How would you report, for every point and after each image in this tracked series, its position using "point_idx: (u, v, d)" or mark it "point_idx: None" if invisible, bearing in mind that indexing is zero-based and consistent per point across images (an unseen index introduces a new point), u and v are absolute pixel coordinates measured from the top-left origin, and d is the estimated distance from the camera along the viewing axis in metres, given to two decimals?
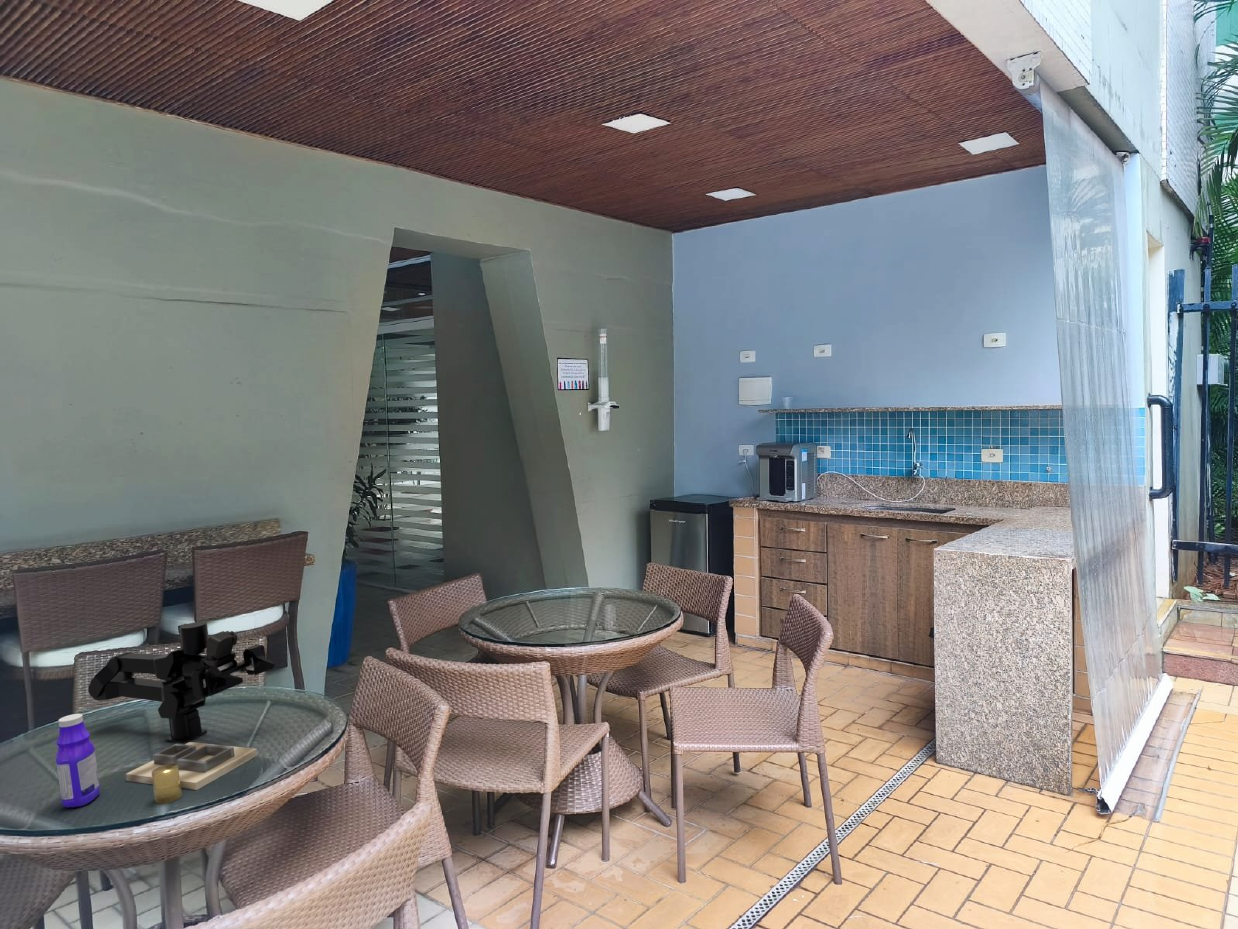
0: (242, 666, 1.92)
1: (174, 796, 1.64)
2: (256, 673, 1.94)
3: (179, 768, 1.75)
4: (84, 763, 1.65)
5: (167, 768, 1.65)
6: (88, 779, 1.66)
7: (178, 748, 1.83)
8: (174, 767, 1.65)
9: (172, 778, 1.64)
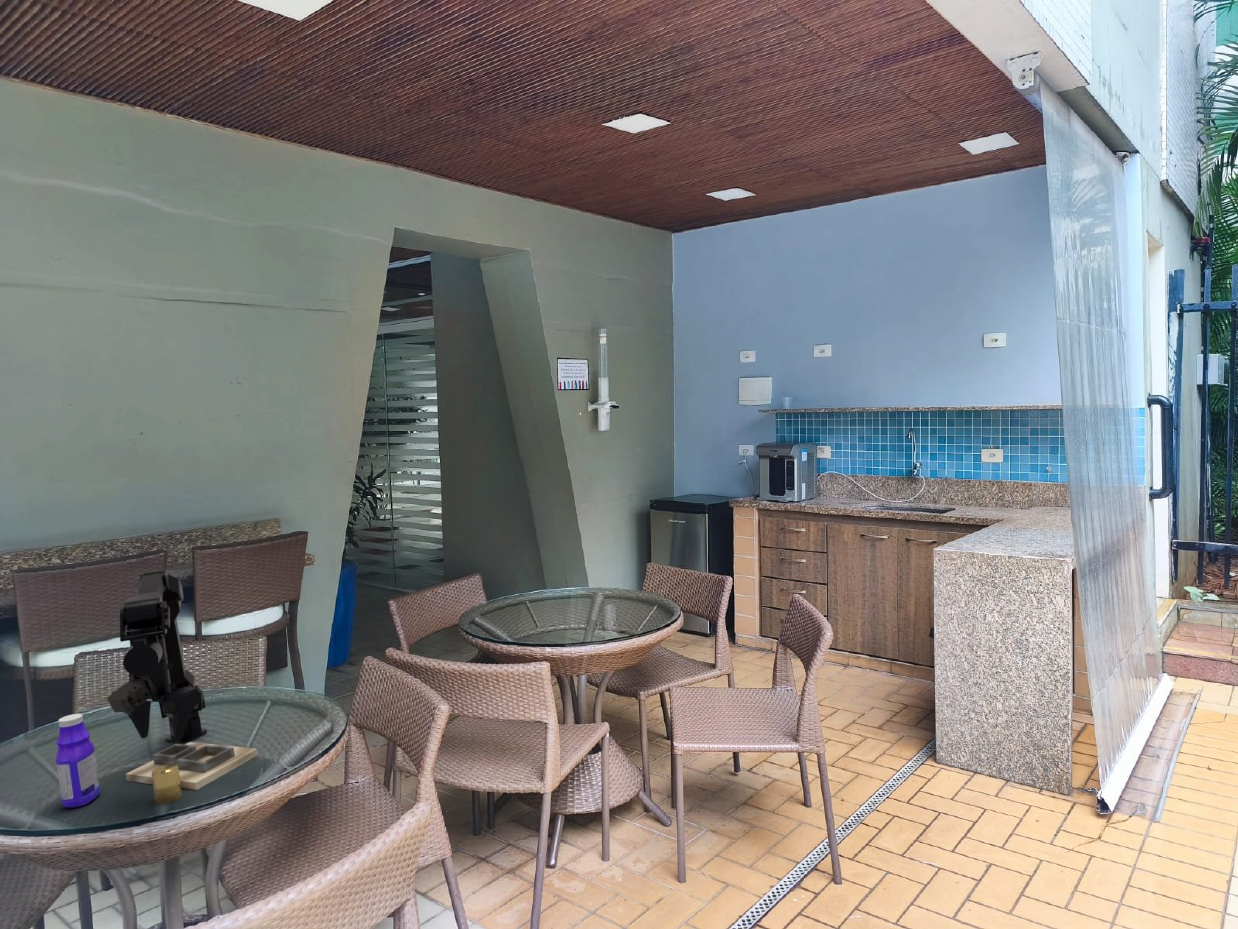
0: None
1: (174, 796, 1.64)
2: None
3: (179, 768, 1.75)
4: (84, 763, 1.65)
5: (167, 768, 1.65)
6: (88, 779, 1.66)
7: (178, 748, 1.83)
8: (174, 767, 1.65)
9: (172, 778, 1.64)
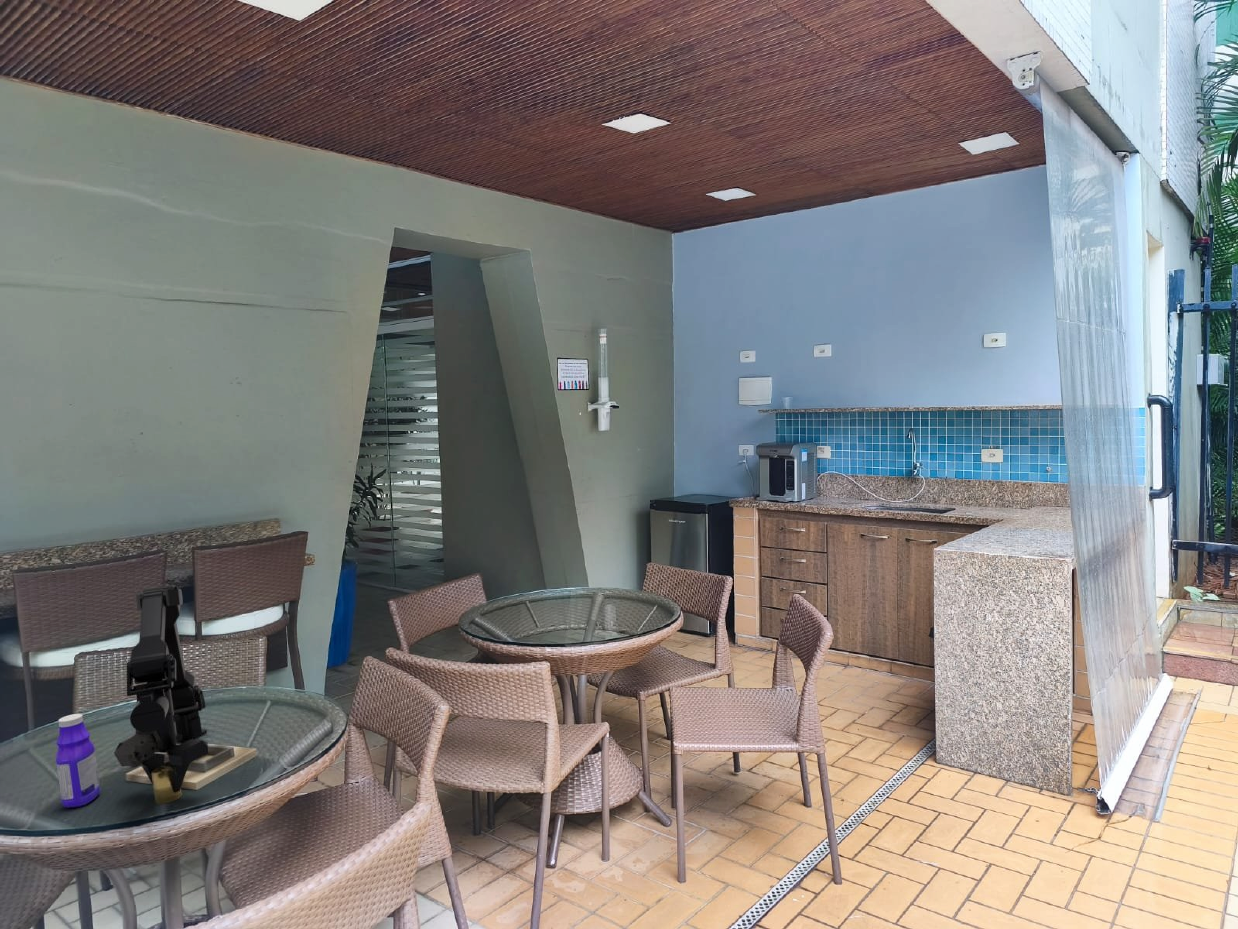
0: None
1: (174, 796, 1.64)
2: None
3: None
4: (84, 763, 1.65)
5: None
6: (88, 779, 1.66)
7: None
8: None
9: None
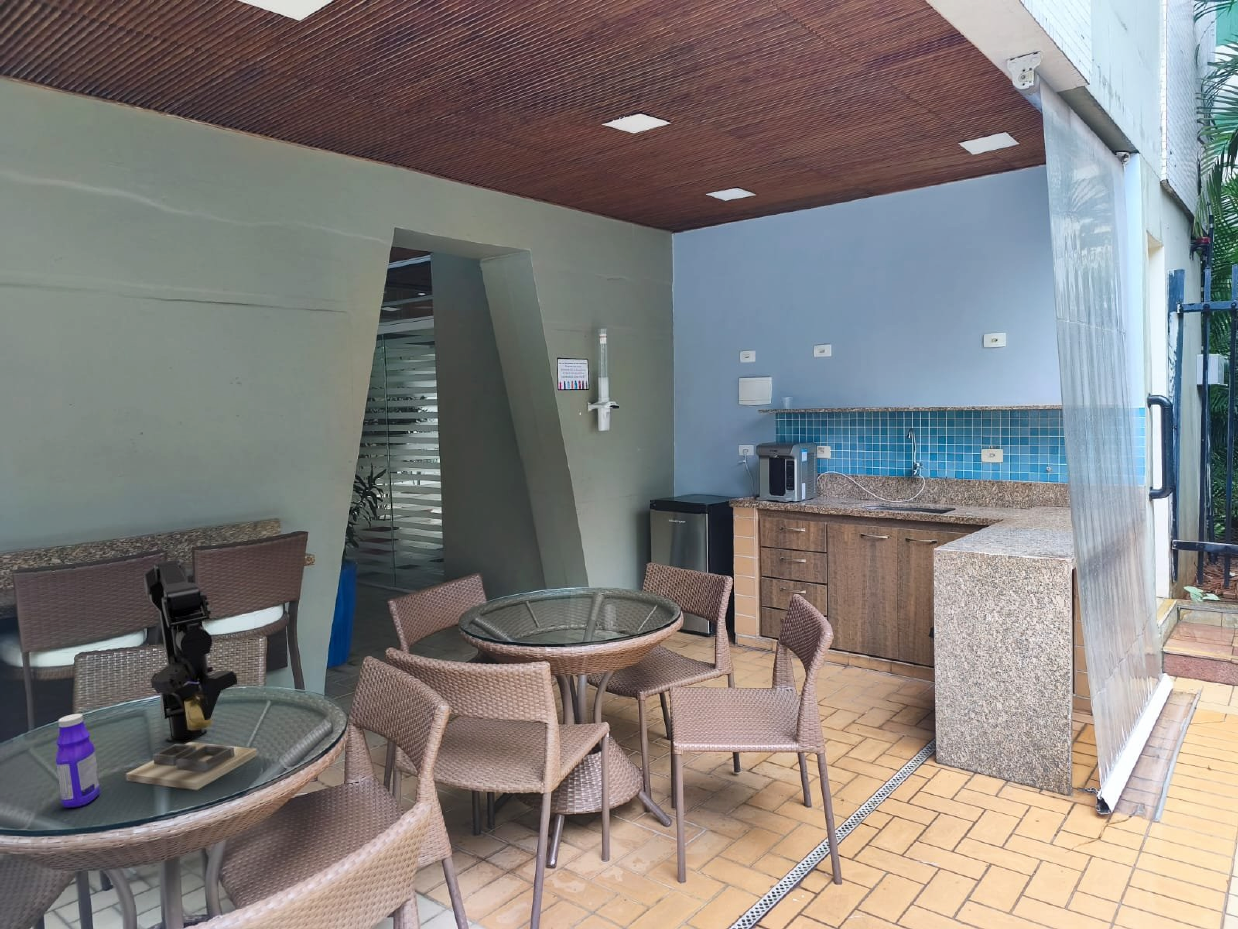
0: None
1: (205, 723, 1.75)
2: None
3: (179, 768, 1.75)
4: (84, 763, 1.65)
5: (198, 698, 1.76)
6: (88, 779, 1.66)
7: (178, 748, 1.83)
8: None
9: None
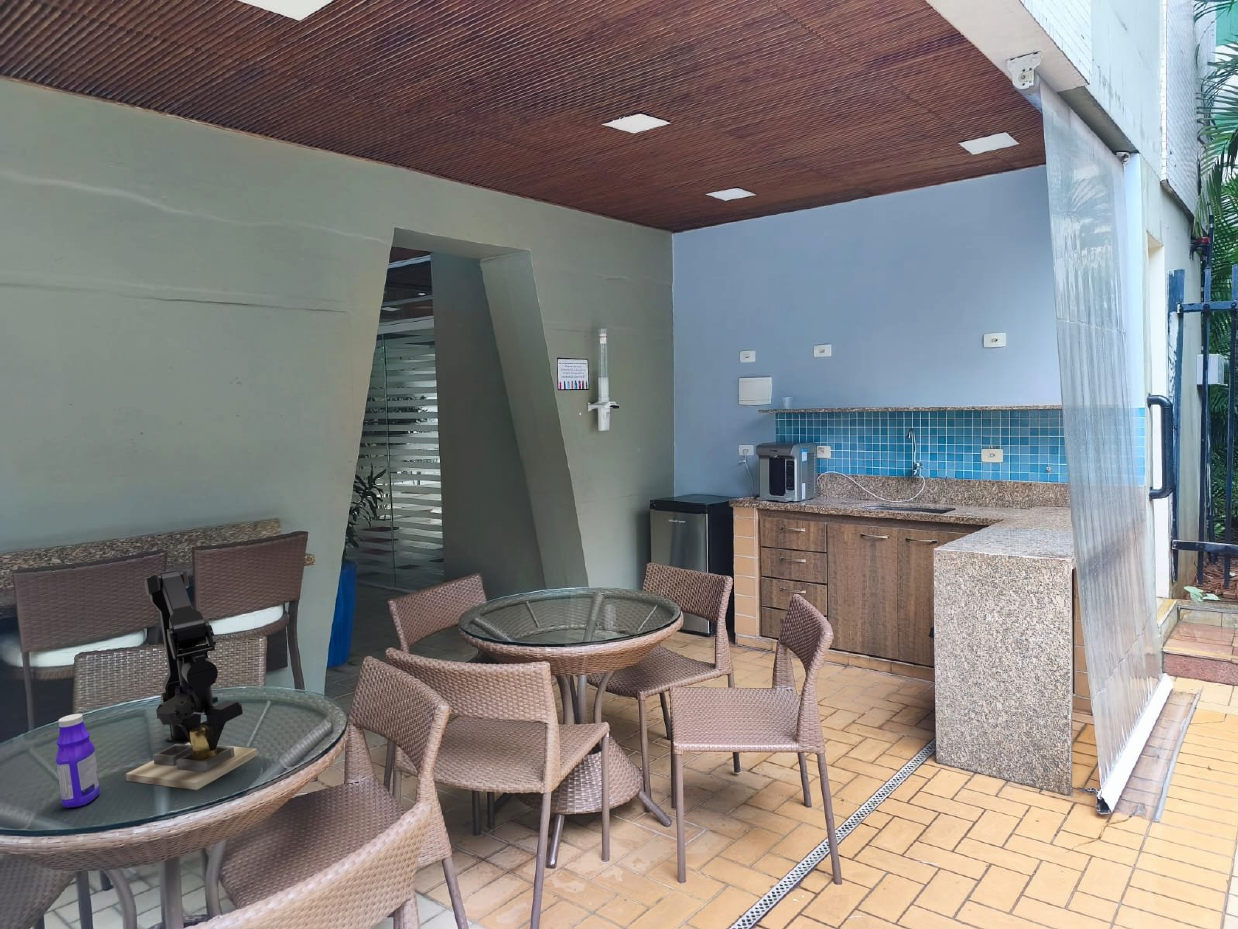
0: None
1: (210, 754, 1.76)
2: None
3: (179, 768, 1.75)
4: (84, 763, 1.65)
5: (204, 728, 1.77)
6: (88, 779, 1.66)
7: (178, 748, 1.83)
8: None
9: None
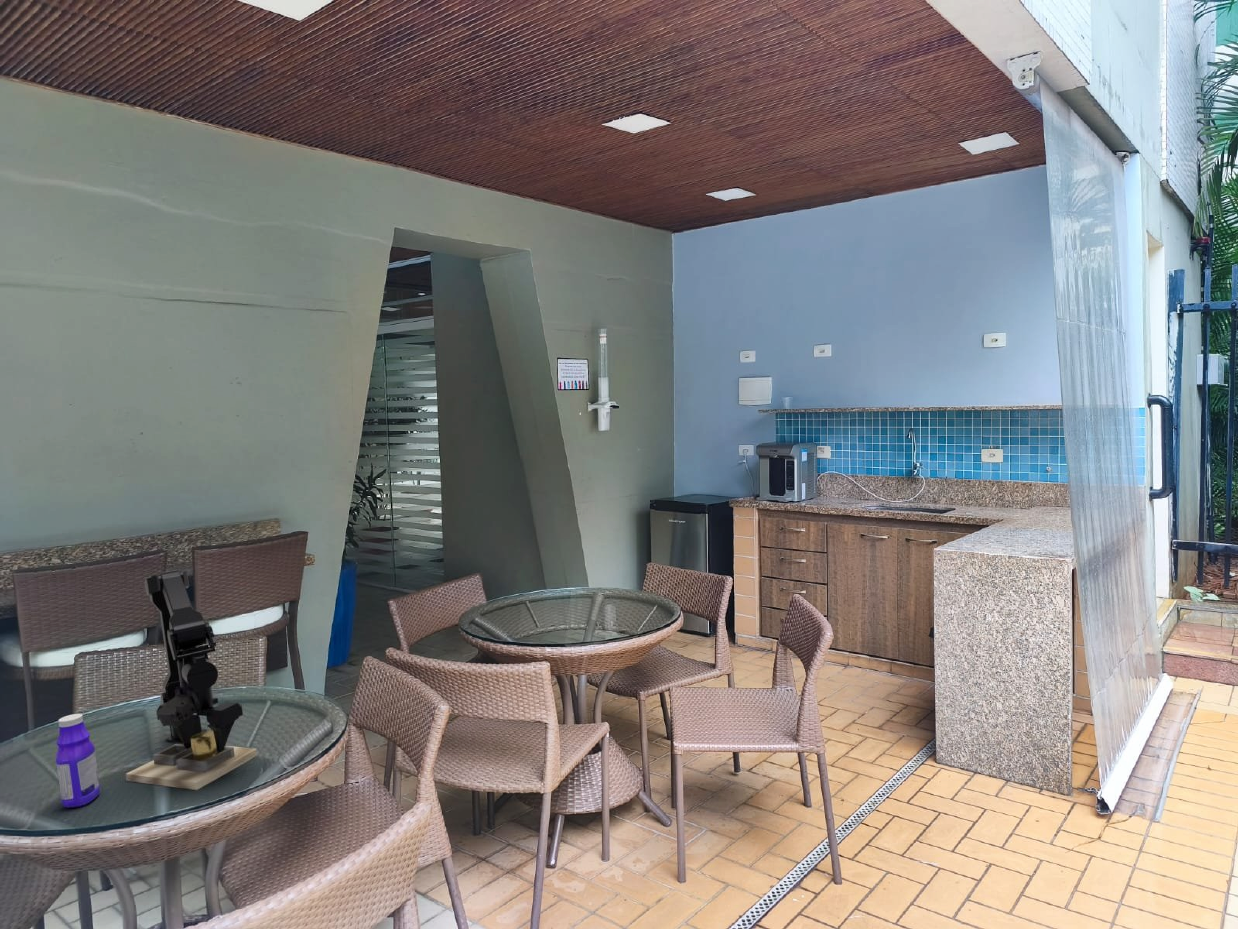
0: None
1: None
2: None
3: (179, 768, 1.75)
4: (84, 763, 1.65)
5: (204, 735, 1.77)
6: (88, 779, 1.66)
7: (178, 748, 1.83)
8: (211, 733, 1.77)
9: (210, 743, 1.76)
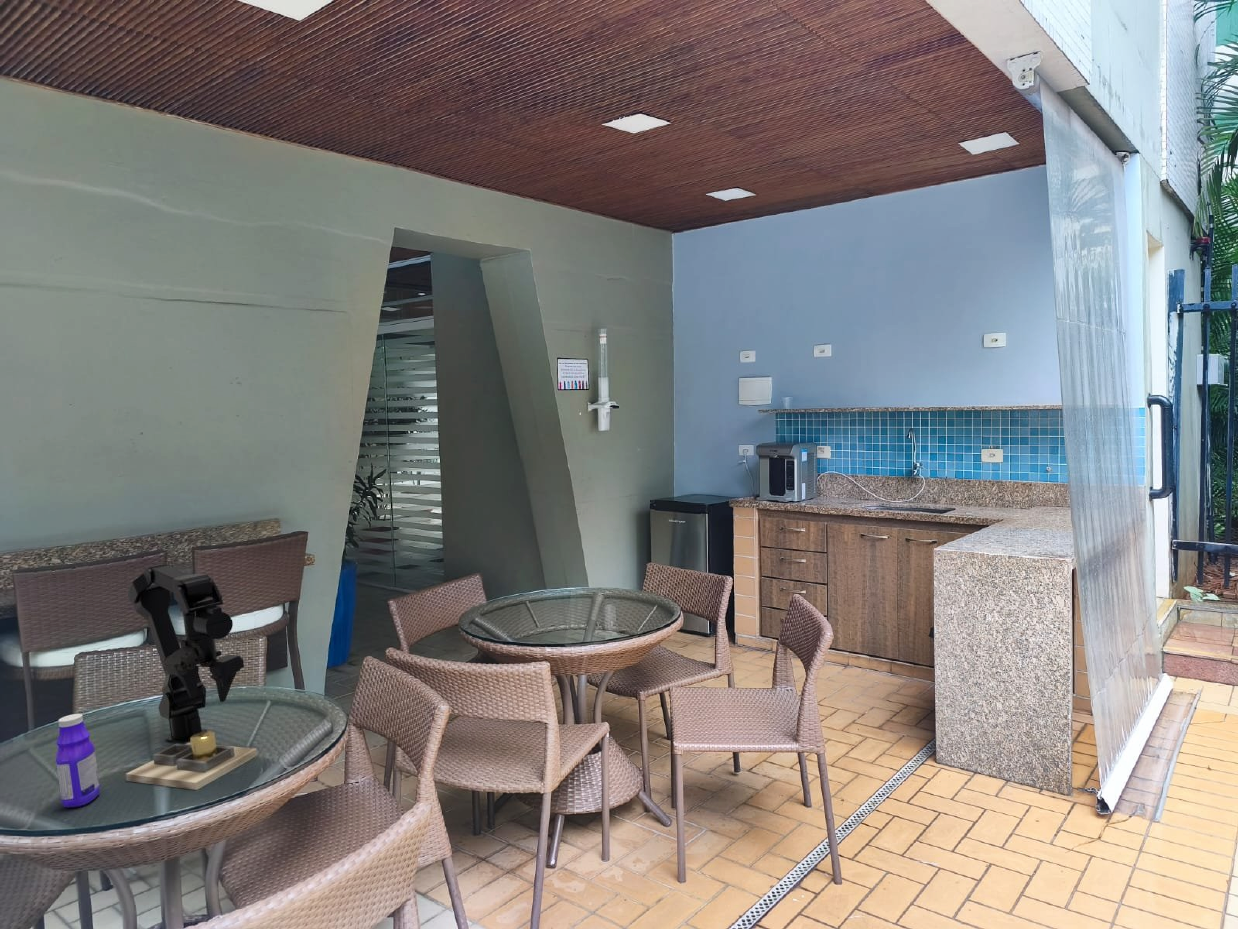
0: None
1: None
2: None
3: (179, 768, 1.75)
4: (84, 763, 1.65)
5: (204, 735, 1.77)
6: (88, 779, 1.66)
7: (178, 748, 1.83)
8: (211, 733, 1.77)
9: (209, 743, 1.76)
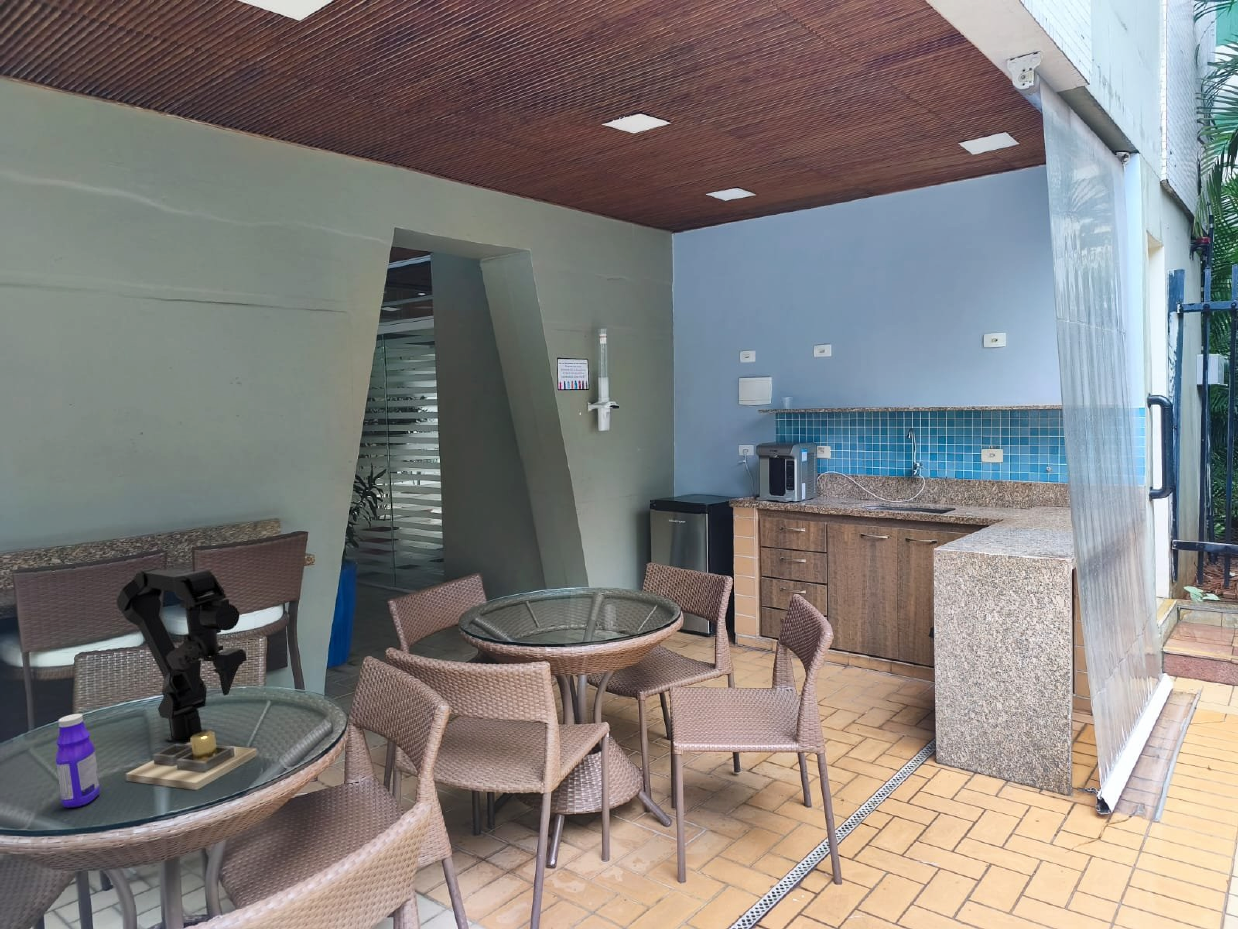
0: None
1: None
2: None
3: (179, 768, 1.75)
4: (84, 763, 1.65)
5: (204, 735, 1.77)
6: (88, 779, 1.66)
7: (178, 748, 1.83)
8: (211, 733, 1.77)
9: (209, 743, 1.76)
